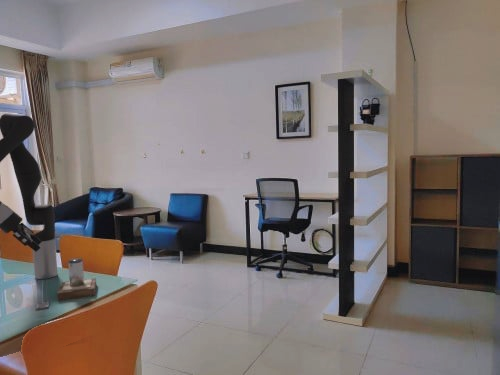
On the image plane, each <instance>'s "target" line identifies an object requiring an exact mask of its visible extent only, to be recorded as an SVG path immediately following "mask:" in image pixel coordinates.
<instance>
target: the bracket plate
mask: <svg viewBox="0 0 500 375" xmlns="http://www.w3.org/2000/svg"><path fill="white" fill-rule="evenodd" d="M46 309H48V310H49V309H50V300H45V301H40V302H37V303H36V306H35V311H39V310H40V311H41V310H46Z"/></svg>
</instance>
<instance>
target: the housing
mask: <svg viewBox="0 0 500 375" xmlns="http://www.w3.org/2000/svg"><path fill="white" fill-rule="evenodd" d="M83 261H84V260H83V258H81V257H77V258H76V257H75V258H70V259H69V260H68V275H69V276H68V277H69V281H70V286H72V287H76V286H81V285H83V284H84V280H85V277H84V276H85V274H84V262H83Z"/></svg>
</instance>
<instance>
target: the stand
mask: <svg viewBox="0 0 500 375" xmlns="http://www.w3.org/2000/svg"><path fill="white" fill-rule="evenodd" d="M96 288H97V279H96V278H86V279H85V278H84V284H83V285H81V286H76V287H72V286H70V280H69V281H62V282H61V284H60V286H59V288H58V290H57V295H56V296H57V301H58V302H60V301H61V302H62V301H66V300H73V299H74V300H75V299H82V298H89V297H95V295H96V291H97V289H96Z"/></svg>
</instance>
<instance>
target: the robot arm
mask: <svg viewBox="0 0 500 375" xmlns="http://www.w3.org/2000/svg"><path fill="white" fill-rule="evenodd" d="M34 130H35V121H34V120H33V118H32V117H31V116H29V115H26V114H20V113H13V112H12V113H11V112H10V113H9V112H7V113H6V112H5V113H3V114H2V115H1V116H0V134H1V135H2V138H1V139H0V163H1V162H2V161H3V160H4V159H6V157H7V156H8V155H9V156H10V159H11V162H12V166H13V170H14V174H15V178H16V180H17V185H18V187H19V191H20V194H21V197H22V198H21V199H22V202H23V203H22V205H23V209H24V210H23V211H24V216H25V219H26V222H27V223H28V225H30V226H43V229H41V230H40V231H37V232H34V231H33V230H32V229H31V228H29V227H28V226H27V225H26V224H24V223H23V222H22V221H23V218H22V217H21V215H19V214H18V213H16V212H15V211H14V210H13V209H12V208H11V207H9V206H8V205H6V204H5V203H4V202H2V201H1V200H0V230H1V231H2V232H3V233H4V234H9V233H10V232H12V233H13V234H12V236H13V237H14V239H16V240H17V241H19V242H20V243H21V244H22V245H23V246H25V247H26V246H27V247H29V248H30V249H32V254H33V255H32V256H33V257H32V259H33V268H34V278H35V280H36V279H37V280H45V279H51V278H54V277H56V276H57V275H58V261H57V260H58V259H57V248H56V235H55V234H56V224H55V223H56V219H55V218H56V212H55V208H54V206H53V205H51V204H36V203H35V195H36V191H37V190H38V188H39V186H40V184H41V182H42V174H41V169H40V166H39V164H38V161H37V160H36V158H35V157H34V156H33V155H32V153H31V152H30V151H29V149H28V148H27V147H26V145H25V144H24V141H25V140H27V139H28V138H29V137H30V136H31V135H32V134H33V132H34Z"/></svg>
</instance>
